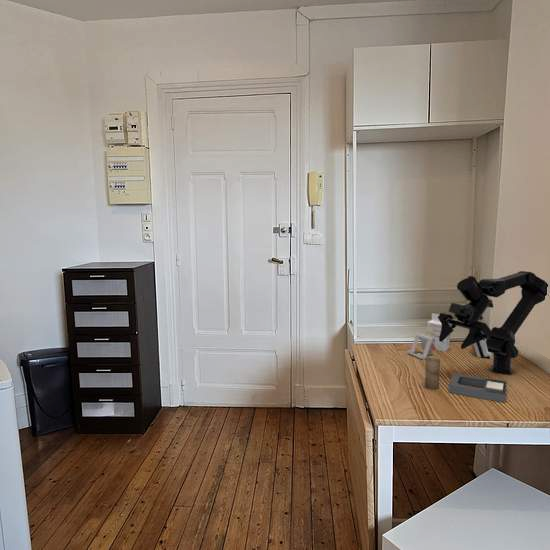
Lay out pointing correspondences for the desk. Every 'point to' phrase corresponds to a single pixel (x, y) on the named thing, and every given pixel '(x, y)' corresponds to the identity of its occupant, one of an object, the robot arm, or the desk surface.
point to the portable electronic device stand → (425, 343)
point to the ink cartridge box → (437, 334)
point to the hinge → (482, 349)
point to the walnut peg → (432, 372)
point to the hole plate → (490, 389)
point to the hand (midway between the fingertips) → (450, 344)
